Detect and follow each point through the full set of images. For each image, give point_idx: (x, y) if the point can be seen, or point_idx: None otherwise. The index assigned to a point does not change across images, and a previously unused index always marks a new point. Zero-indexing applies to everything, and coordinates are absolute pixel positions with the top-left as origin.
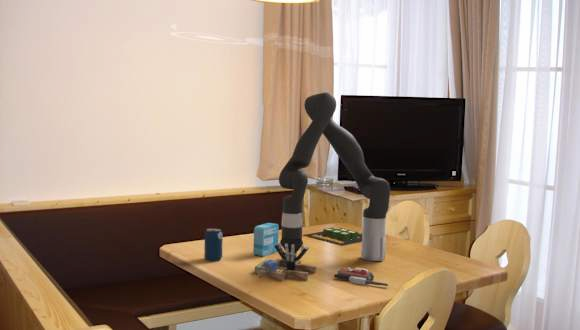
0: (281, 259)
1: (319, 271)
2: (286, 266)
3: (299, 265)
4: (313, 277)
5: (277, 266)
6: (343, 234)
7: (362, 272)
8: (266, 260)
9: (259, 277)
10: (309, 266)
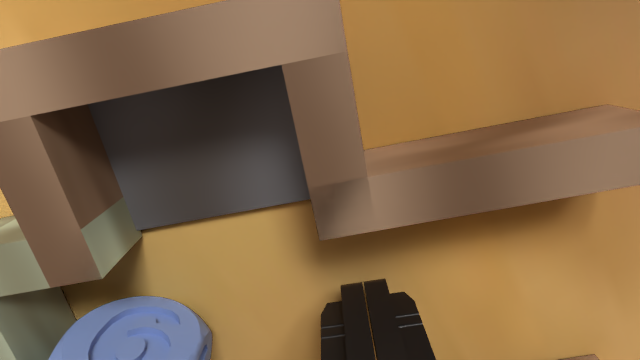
0: (38, 112)
1: (636, 27)
2: (181, 114)
3: (430, 216)
4: (625, 277)
5: (200, 349)
6: None
7: None
8: None
9: None
10: (584, 191)
